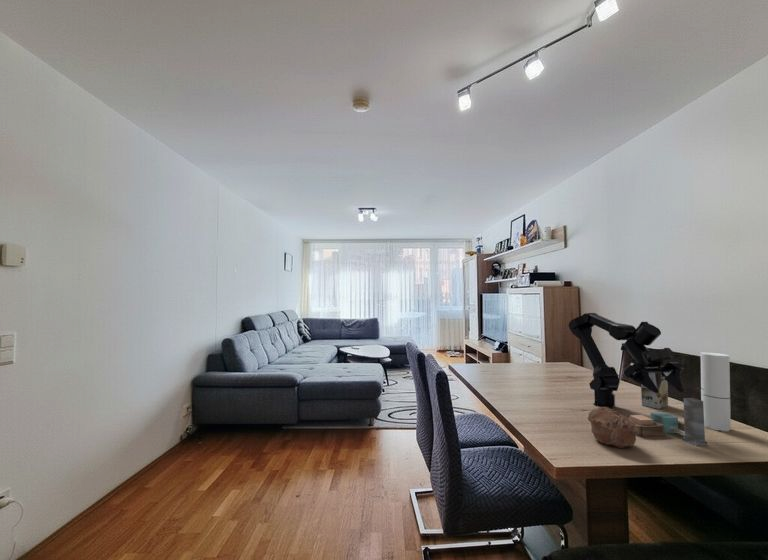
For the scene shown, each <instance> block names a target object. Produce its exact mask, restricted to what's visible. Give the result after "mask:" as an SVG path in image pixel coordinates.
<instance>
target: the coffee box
mask: <svg viewBox="0 0 768 560" xmlns="http://www.w3.org/2000/svg"><path fill="white" fill-rule="evenodd" d="M660 366H661V367H664V366H665V365H660ZM649 377H650V378H651V380H652V381H653V383H654V384H655V386H656V387H657V389H658V391H659V392H658V393H655V392H653V391H651V390H650V389H648V388H647V387H645V386H643V385H642V384H640V393H641V399H640V400H641V405H642V406H645V407H647V408H648V407H649V408H654V409H657V410H659V409H660V410H661V409H663V408H665V407H668V406H669V391H668V389H669V385H668V384H669V383H668V382H667V381H666V380H665V379H664V378H665V377H664V376H662V375H661V373H649Z"/></svg>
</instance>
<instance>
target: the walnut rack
mask: <svg viewBox="0 0 768 560" xmlns="http://www.w3.org/2000/svg"><path fill="white" fill-rule="evenodd" d="M653 422H654V425H637V424H635V425H636V427H637V428H638V430H639V432H638V433H637V435H636V437H638V436H639V437H663V436H664V435H666V433H665V425H663V424H660V423H658V422H655V421H653ZM678 429H680V430H682V431H685V424H684V421H681V420H678Z"/></svg>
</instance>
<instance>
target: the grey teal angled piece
mask: <svg viewBox="0 0 768 560" xmlns="http://www.w3.org/2000/svg"><path fill="white" fill-rule="evenodd" d="M683 416H684V417H683V419H684V420H683V423H684V424H685V431H682V430H680V429H678V421H679V416H678V417H677V416H675V415H673V414H670V413H667V412H664V411H663V412H660V411H659V412H658V411H657V412H650V419H653V421H655V422H658V423H660V424H663V425H665V434H680V435H682V441H684V442H686V443H688V442H689V443H688V444H691V445H693V444H694V445H693V446H695V445H701V446H708V445H709V442H708V441H706V433H705V432H706V431H705V426H704V407H703V401H701V400H700V399H698V398H694V397H683Z"/></svg>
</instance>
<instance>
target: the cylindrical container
mask: <svg viewBox="0 0 768 560" xmlns="http://www.w3.org/2000/svg"><path fill="white" fill-rule="evenodd" d="M730 367H731V365H730V355H729V354H725V353H718V352H709V351H708V352H707V351H706V352H705V351H703V352H700V398H701V401H703V407H704V428H707V429H710V430H715V431H718V430H721V431H720V432H730V431H729V430H731V429H732V428H731V427H732V426H731V423H732V422H731V381H730V380H731V377H730V376H731V372H730V370H731V369H730Z"/></svg>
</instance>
